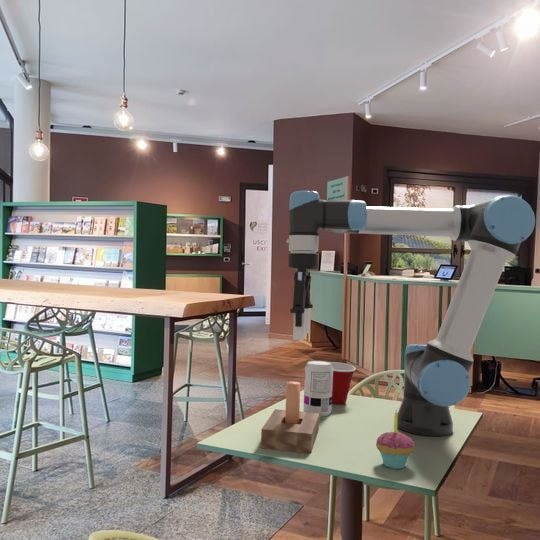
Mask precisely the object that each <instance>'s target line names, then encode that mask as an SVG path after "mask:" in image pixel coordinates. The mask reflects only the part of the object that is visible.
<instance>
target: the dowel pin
mask: <svg viewBox="0 0 540 540" xmlns="http://www.w3.org/2000/svg"><path fill="white" fill-rule="evenodd" d="M285 387H286V392H285V410H286V412H285V423H290V424H299V411H300V412H301V409H300V408H301V407H300V406H301V405H300V403H301V382H298V381H286V386H285Z"/></svg>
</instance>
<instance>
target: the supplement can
mask: <svg viewBox="0 0 540 540" xmlns="http://www.w3.org/2000/svg"><path fill="white" fill-rule="evenodd" d="M330 362H331V361H325V360H309V361H307V363H306V365H305V367H304V385H303V386H304V389H303V390H304V391H303V392H304V393H303V412H311V413H319V418H321V417H322V418H323V417H327V416H329V415H330V414H331V413H332V408H333V407H332V405H333V404H332V384H333V368H332V366H331V363H330Z"/></svg>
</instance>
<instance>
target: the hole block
mask: <svg viewBox="0 0 540 540" xmlns="http://www.w3.org/2000/svg"><path fill="white" fill-rule="evenodd" d="M285 412H286V409H278V408H277V409H274V410H273V411H272V413H271V414H270V416H269V417H268V419H267V421H266V422H265V423H264V425H263V426H262V427H261V430H260V432H261V433H260V435H261V437H260V448H261V449H267V450H268V449H269V450H279V451H287V452H296V453H297V452H298V453H306V454H309V453H310V454H311V453H312V451H313V448H314V445H315V442H316V439H317V436H318V433H319V432H320V431H319V430H320V429H319V428H320V417H319V413H311V412H304V411H301V410H300V411H299V424H290V423H285Z"/></svg>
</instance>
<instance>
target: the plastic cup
mask: <svg viewBox="0 0 540 540" xmlns="http://www.w3.org/2000/svg"><path fill="white" fill-rule="evenodd" d="M329 362H330V363H331V366H332V368H333V384H332V405H345V404H346V403H347V399H348V394H349V391H350V386H351V382H352V378H353V375H354V373H355V372H356V367H355V366H353V365H351V364H349V363H344V362H336V361H329Z"/></svg>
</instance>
